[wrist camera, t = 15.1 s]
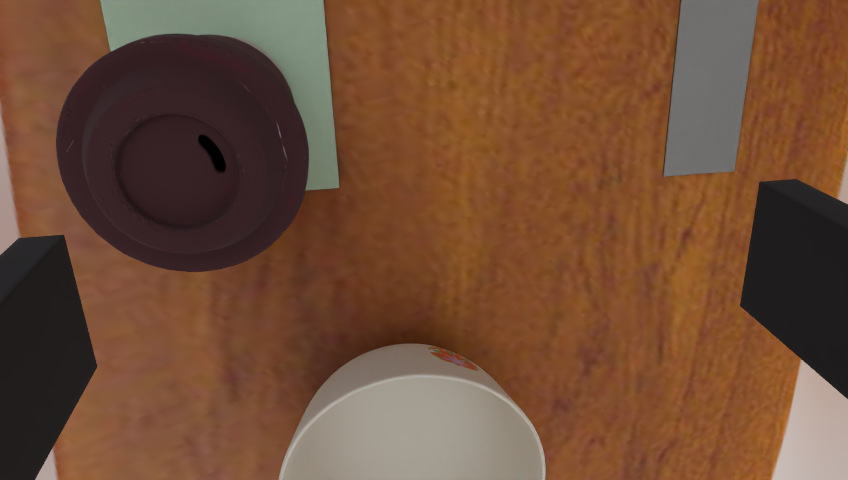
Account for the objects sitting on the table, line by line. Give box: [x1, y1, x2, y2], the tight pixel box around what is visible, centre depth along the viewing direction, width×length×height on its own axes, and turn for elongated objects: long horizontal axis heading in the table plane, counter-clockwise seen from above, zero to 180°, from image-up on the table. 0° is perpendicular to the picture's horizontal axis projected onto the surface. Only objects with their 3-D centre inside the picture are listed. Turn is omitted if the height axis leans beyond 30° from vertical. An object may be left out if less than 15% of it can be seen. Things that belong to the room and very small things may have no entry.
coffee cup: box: [56, 33, 309, 272], centre depth 34 cm, size 10×10×15 cm
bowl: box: [279, 344, 546, 480], centre depth 46 cm, size 16×16×10 cm
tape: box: [663, 0, 758, 176], centre depth 44 cm, size 14×5×1 cm, turn 2°
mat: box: [100, 0, 339, 191], centre depth 41 cm, size 12×12×1 cm
